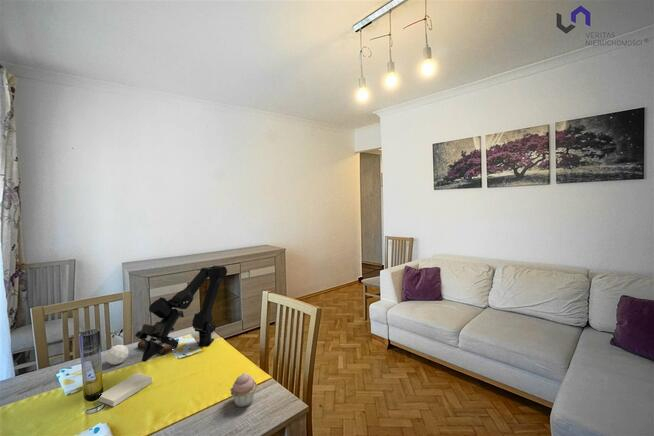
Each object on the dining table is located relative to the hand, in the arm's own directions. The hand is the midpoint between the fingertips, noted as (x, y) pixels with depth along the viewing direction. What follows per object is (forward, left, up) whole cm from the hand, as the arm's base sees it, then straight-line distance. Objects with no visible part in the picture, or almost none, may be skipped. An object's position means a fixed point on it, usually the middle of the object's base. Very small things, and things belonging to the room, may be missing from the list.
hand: (143, 361), depth 108 cm
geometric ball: (-13, -19, -8) cm, 24 cm away
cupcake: (+11, +43, -8) cm, 45 cm away
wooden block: (0, 0, -7) cm, 7 cm away
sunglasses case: (-26, -9, -9) cm, 28 cm away
